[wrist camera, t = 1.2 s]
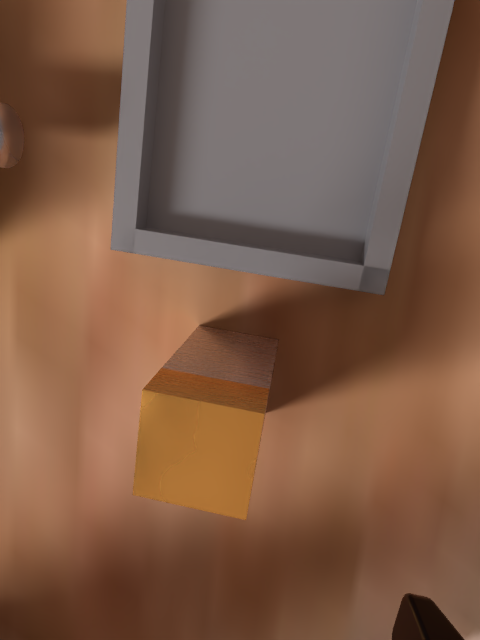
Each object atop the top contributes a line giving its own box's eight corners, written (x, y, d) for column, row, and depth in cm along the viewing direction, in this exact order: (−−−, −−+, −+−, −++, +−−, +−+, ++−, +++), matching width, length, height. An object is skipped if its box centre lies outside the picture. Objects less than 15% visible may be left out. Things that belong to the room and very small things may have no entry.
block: (265, 413, 17) (245, 520, 11) (189, 398, 17) (132, 494, 11) (278, 339, 16) (264, 414, 10) (199, 325, 16) (142, 389, 11)
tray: (377, 287, 15) (384, 295, 14) (127, 245, 16) (110, 249, 15) (467, -100, 12) (487, -138, 11) (154, -125, 13) (137, -163, 12)
